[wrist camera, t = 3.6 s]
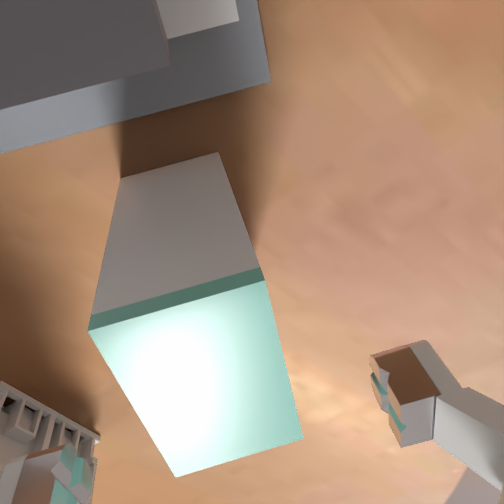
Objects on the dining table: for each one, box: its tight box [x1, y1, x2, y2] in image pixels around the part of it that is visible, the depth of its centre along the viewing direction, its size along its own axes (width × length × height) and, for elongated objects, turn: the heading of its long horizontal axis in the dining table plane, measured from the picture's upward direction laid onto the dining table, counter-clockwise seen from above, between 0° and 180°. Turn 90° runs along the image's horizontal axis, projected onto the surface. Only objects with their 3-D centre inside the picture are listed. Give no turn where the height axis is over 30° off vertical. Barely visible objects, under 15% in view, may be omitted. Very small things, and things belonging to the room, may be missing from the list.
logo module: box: [88, 152, 304, 477], centre depth 16 cm, size 4×7×10 cm, turn 12°
